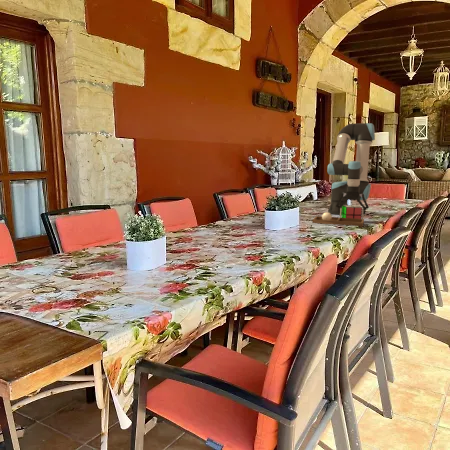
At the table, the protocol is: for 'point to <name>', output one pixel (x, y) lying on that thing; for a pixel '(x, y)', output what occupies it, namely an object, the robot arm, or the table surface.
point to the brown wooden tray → (340, 221)
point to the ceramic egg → (326, 216)
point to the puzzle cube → (351, 211)
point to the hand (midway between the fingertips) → (351, 218)
